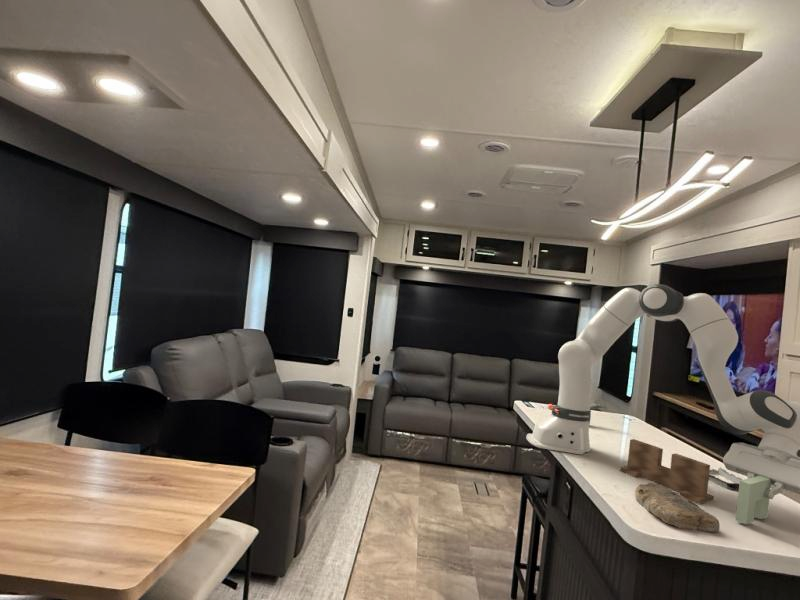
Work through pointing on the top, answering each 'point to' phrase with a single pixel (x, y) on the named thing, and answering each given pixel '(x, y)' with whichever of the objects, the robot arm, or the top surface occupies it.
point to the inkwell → (596, 406)
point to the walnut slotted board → (669, 471)
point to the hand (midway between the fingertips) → (759, 494)
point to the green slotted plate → (752, 499)
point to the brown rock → (675, 508)
